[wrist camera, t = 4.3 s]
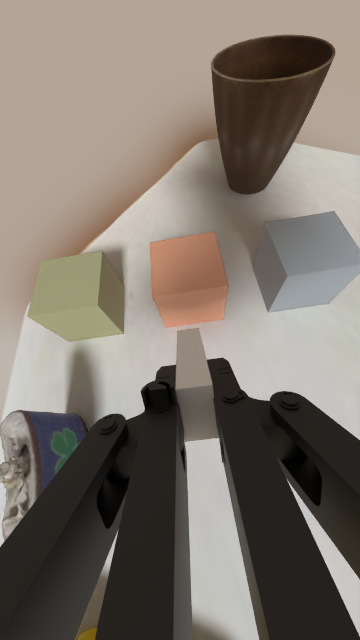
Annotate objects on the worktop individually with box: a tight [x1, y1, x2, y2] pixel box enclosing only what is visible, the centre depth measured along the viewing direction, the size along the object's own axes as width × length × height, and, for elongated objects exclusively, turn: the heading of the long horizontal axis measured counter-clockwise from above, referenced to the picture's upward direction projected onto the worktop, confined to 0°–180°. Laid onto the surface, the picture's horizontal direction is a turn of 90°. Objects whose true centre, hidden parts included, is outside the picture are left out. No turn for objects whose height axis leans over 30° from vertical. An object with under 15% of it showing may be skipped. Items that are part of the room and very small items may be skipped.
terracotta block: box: [150, 232, 228, 328], centre depth 28 cm, size 8×8×8 cm
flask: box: [0, 410, 88, 540], centre depth 19 cm, size 9×3×11 cm, turn 25°
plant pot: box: [211, 35, 335, 194], centre depth 34 cm, size 15×15×16 cm
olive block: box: [27, 251, 124, 342], centre depth 28 cm, size 8×8×8 cm
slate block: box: [253, 211, 360, 313], centre depth 27 cm, size 8×8×8 cm
